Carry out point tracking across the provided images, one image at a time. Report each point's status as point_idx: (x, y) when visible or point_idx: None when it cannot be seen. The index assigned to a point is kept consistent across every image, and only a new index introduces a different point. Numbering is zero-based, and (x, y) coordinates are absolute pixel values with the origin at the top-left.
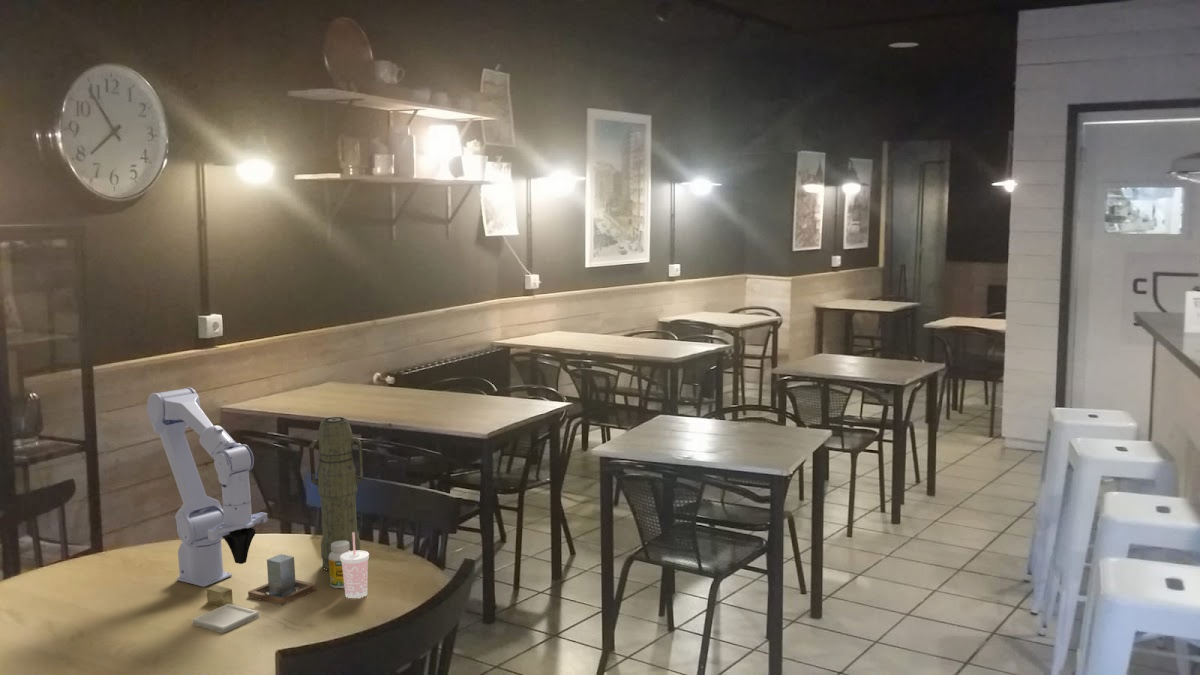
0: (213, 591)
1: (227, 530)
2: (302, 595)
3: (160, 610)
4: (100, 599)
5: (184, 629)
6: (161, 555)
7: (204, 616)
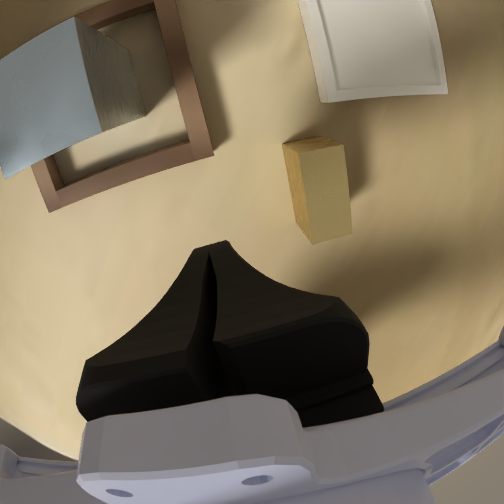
0: (348, 196)
1: (499, 385)
2: None
3: (421, 251)
4: (416, 368)
5: (457, 86)
6: None
7: (418, 85)
